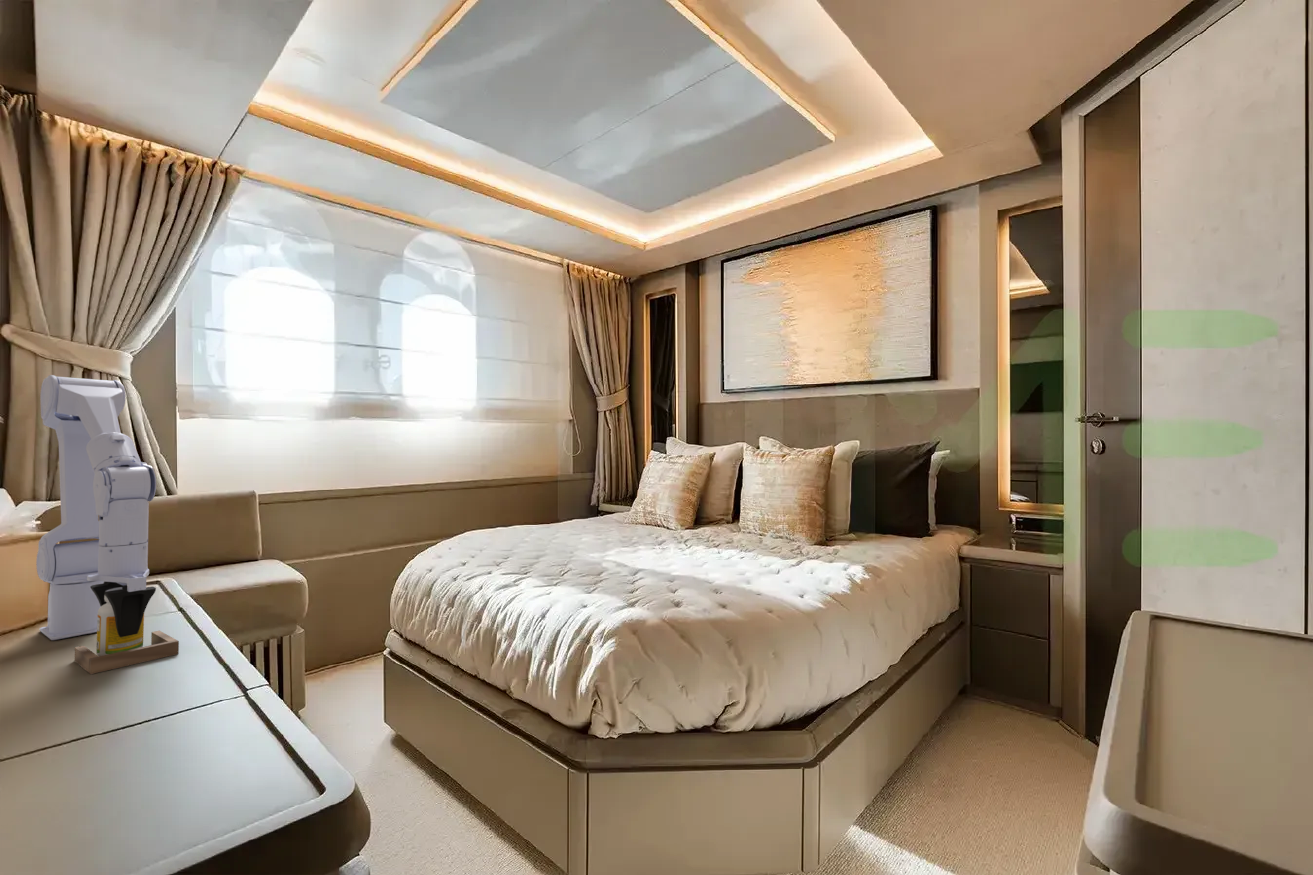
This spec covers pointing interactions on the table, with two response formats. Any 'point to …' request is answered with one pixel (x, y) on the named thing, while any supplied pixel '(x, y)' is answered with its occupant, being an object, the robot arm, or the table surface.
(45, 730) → the table surface
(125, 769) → the table surface
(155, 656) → the bay
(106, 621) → the supplement bottle
